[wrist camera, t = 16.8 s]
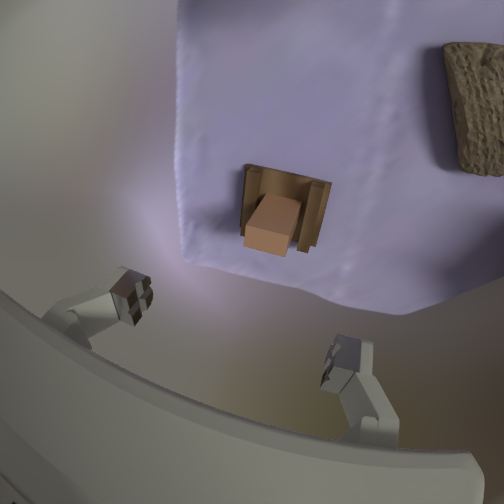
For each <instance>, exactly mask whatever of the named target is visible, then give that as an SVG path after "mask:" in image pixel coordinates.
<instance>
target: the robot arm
mask: <svg viewBox="0 0 504 504" xmlns="http://www.w3.org/2000/svg"><path fill="white" fill-rule="evenodd" d="M150 284H151V279H150V277H149V276H146V275H144V274H141V273H139V272H136V271H134V270H131V269H128V268H126V267H123V266H121V267H119V268H118V269H117V270H116V271H115V272H114V273H113V274H112V275H111V276H110V277H109V278H108V279H107V280H106V281H105V282H104V283H103V284H102V285H101V286H100V287H95V288H92V289H89V290H87V291H84V292H81V293H79V294H76V295H73V296H71V297H68V298H65V299H63V300H60V301H58V302H56V303H55V304H54V305H53V306H52V307H51V308H50V309H49V310H48V311H47V312H46V314H45V315H44V316H43V317H42V318H41V319H40V318H39V317H37V316H36V315H34V314H33V313H31V312H30V311H29V310H27V309H26V308H25V307H23V306H22V305H20V304H19V303H17V302H16V301H15V300H14V299H13V298H11V297H10V296H9V295H8V294H6V293H5V292H4V291H2V290H0V504H482V503H483V495H484V475H483V473H482V471H481V469H480V467H479V466H478V464H477V462H476V460H475V459H474V457H473V456H472V454H471V453H470V452H468V451H463V450H455V451H454V450H453V451H451V450H450V451H445V450H443V451H442V450H440V451H439V450H413V449H400V448H397V447H398V434H399V419H398V417H397V415H396V413H395V411H394V410H393V408H392V406H391V404H390V402H389V400H388V399H387V397H386V395H385V393H384V392H383V390H382V388H381V386H380V384H379V383H378V381H377V379H376V377H375V376H372V362H373V343H372V342H370V341H366V340H362V339H358V338H354V337H350V336H345V335H341V334H337V335H336V336H335V338H334V342H333V345H331V346H330V348H329V350H328V352H327V355H326V359H325V363H324V368H325V372H324V373H323V375H322V379H321V384H320V389H321V390H325V391H329V392H333V393H337V394H339V398H340V401H341V403H342V406H343V409H344V411H345V414H346V417H347V419H348V422H349V425H350V429H349V430H348V431H347V432H346V433H345V434H343V435H342V436H341V437H340V438H339V440H332V439H327V438H322V437H317V436H312V435H308V434H303V433H299V432H294V431H291V430H286V429H283V428H279V427H275V426H272V425H268V424H264V423H261V422H257V421H254V420H251V419H247V418H244V417H241V416H238V415H235V414H232V413H229V412H226V411H223V410H220V409H217V408H215V407H212V406H209V405H206V404H204V403H201V402H198V401H196V400H193V399H191V398H188V397H185V396H183V395H181V394H178V393H176V392H173V391H171V390H169V389H167V388H164V387H162V386H160V385H157V384H155V383H153V382H151V381H149V380H147V379H145V378H142V377H140V376H138V375H136V374H134V373H132V372H130V371H128V370H126V369H124V368H122V367H120V366H118V365H116V364H114V363H113V362H111V361H109V360H107V359H105V358H103V357H101V356H99V355H98V354H96V353H94V352H93V351H91V349H92V346H91V344H90V342H89V340H88V338H90V337H92V336H93V335H95V334H97V333H99V332H101V331H103V330H105V329H106V328H108V327H110V326H112V325H114V324H116V323H117V322H119V320H120V321H122V322H125V323H127V324H129V325H132V326H135V325H136V324H137V323H138V321H139V320H140V319H141V317H142V312H143V311H145V310H147V309H148V308H149V306H150V305H151V302H152V299H153V290H152V289H151V287H150V286H149V285H150Z"/></svg>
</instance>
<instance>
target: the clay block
mask: <svg viewBox="0 0 504 504" xmlns="http://www.w3.org/2000/svg"><path fill="white" fill-rule="evenodd" d="M301 204H302V202H301V201H297V200H293V199H289V198H285V197H280V196H276V195H272V194H268V193H266V195H265V196H264V198H263V199H262V201H261V203H260V204H259V206H258V207H257V209H256V210H255V212H254V213H253V215H252V216H251V218H250V219H249V221H248V222H247V224H246V228H245V237H244V246H245V247H249V248H252V249H256V250H260V251H264V252H267V253H271V254H275V255H279V256H282V257H285V256H286V253H287V250H288V247H289V245H290V242H291V239H292V236H293V233H294V231H295V228H296V225H297V222H298V219H299V214H300V209H301Z"/></svg>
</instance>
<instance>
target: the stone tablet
mask: <svg viewBox="0 0 504 504" xmlns="http://www.w3.org/2000/svg"><path fill="white" fill-rule="evenodd" d="M442 49H443V57H444V63H445V69H446V73H447V81H448V87H449V93H450V98H451V106H452V116H453V123H454V128H455V133H456V138H457V143H458V151H457V157H458V166H459V169H460V170H462V171H463V172H467V173H473V174H476V175H479V176H487V175H492V176H495V177H500V176H503V175H504V45H498V44H491V43H484V42H477V43H472V42H452V43H447V44H444V45H443V46H442Z"/></svg>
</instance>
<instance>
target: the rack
mask: <svg viewBox="0 0 504 504" xmlns="http://www.w3.org/2000/svg"><path fill="white" fill-rule="evenodd" d="M331 185H332V183H330V182H326V181H323V180H319V179H315V178H311V177H306V176H302V175H298V174H294V173H289V172H285V171H281V170H276V169H271V168H267V167H262V166H257V165H252V164H246V169H245V178H244V188H243V198H242V208H241V218H240V227H241V234H240V236H244V237H245V228H246V224H247V222H248V221H249V219H250V218H251V216H252V215H253V213H254V212H255V210H256V209H257V207H258V206H259V204H260V203H261V201H262V199H263V198H264V196H265V195H266V193H268V194H272V195H276V196H280V197H285V198H289V199H293V200H297V201H301V202H302V204H301V209H300V214H299V219H298V222H297V225H296V228H295V231H294V233H293V236H292V239H291V241H295V242H298V246H297V251H301V252H305V253H308V251H309V247H310V246H314V247H316V243H317V239H318V236H319V232H320V228H321V224H322V221H323V217H324V213H325V209H326V205H327V201H328V197H329V193H330V189H331Z"/></svg>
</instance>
